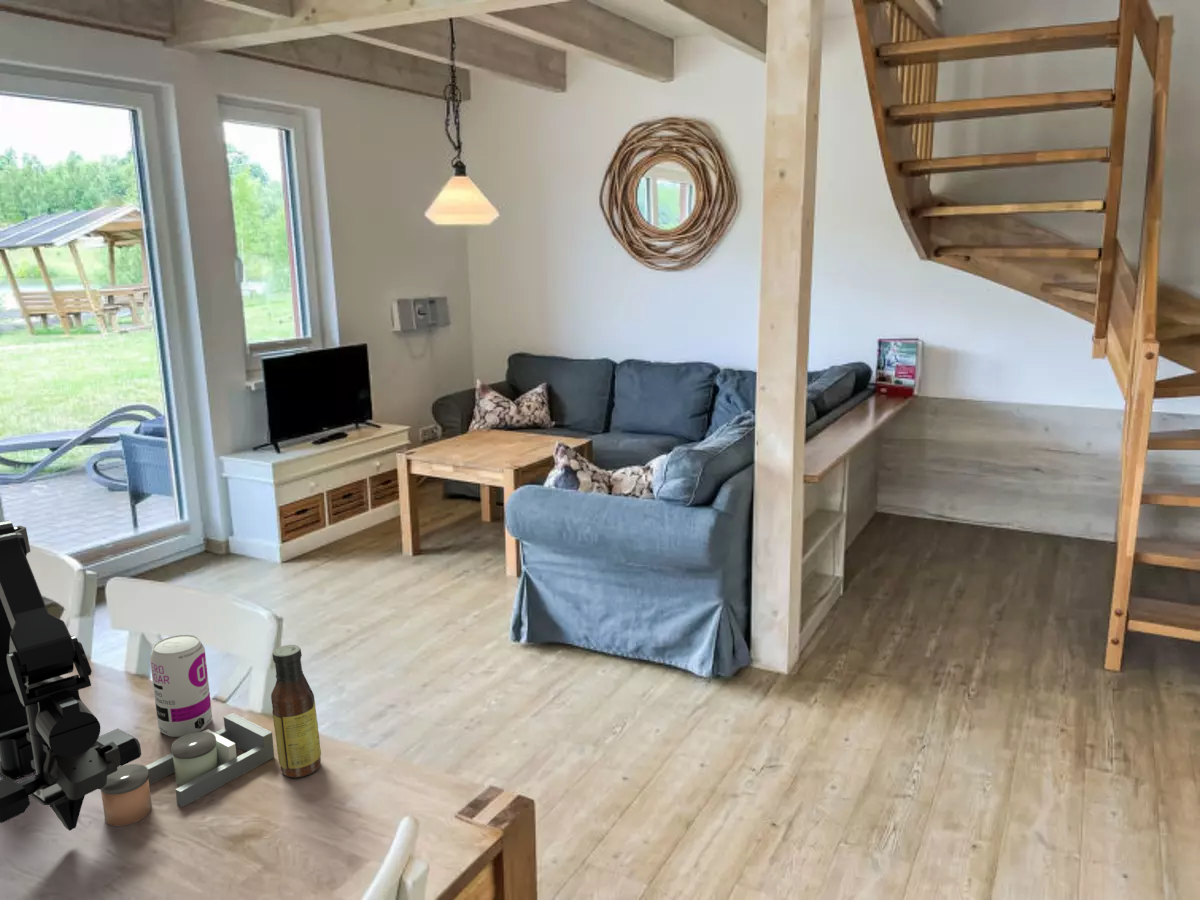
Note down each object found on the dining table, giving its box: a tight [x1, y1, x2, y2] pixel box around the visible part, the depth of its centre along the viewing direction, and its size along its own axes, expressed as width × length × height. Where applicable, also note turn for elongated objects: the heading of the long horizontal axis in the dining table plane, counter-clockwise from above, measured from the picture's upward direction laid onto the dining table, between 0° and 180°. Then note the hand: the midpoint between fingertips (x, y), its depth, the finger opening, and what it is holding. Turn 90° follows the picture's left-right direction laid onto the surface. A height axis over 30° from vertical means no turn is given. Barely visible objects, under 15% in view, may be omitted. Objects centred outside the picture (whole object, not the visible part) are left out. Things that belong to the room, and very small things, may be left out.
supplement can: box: [149, 634, 213, 738], centre depth 151 cm, size 8×8×15 cm
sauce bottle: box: [270, 644, 322, 778], centre depth 138 cm, size 6×6×20 cm
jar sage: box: [170, 731, 219, 787], centre depth 138 cm, size 6×6×6 cm
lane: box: [144, 712, 275, 808], centre depth 140 cm, size 10×16×4 cm
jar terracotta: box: [99, 763, 153, 827], centre depth 129 cm, size 6×6×6 cm
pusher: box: [202, 728, 238, 767], centre depth 141 cm, size 7×1×4 cm, turn 55°
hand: (70, 828), depth 123 cm, fingers closed
